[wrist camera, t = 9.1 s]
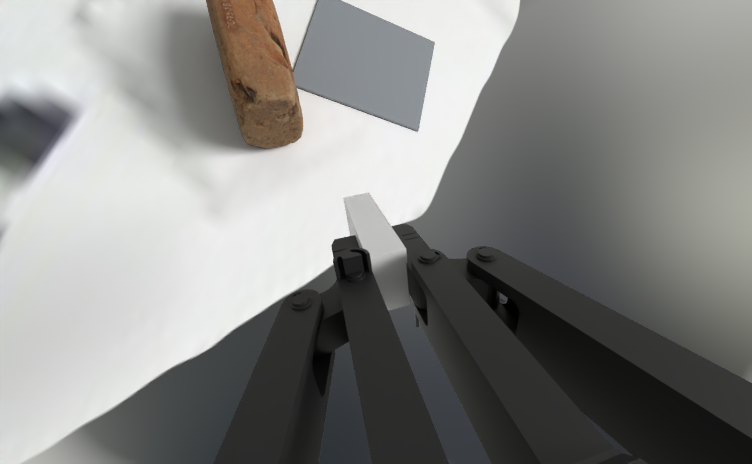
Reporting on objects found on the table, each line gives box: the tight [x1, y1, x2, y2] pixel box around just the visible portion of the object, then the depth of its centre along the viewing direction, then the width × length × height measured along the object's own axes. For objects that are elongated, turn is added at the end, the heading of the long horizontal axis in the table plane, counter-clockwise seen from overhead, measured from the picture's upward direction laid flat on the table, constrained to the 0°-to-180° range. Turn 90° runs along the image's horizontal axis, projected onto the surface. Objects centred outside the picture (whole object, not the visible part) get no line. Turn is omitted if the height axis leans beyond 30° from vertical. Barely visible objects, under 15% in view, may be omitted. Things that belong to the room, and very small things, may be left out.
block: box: [206, 0, 303, 148], centre depth 33 cm, size 11×8×20 cm
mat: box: [293, 0, 435, 131], centre depth 44 cm, size 20×18×1 cm
